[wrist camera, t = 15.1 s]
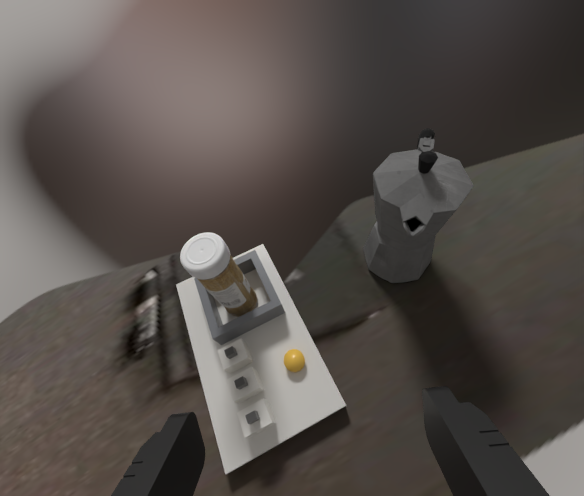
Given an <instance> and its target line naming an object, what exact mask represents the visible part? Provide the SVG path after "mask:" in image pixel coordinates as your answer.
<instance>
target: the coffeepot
mask: <svg viewBox="0 0 584 496" xmlns="http://www.w3.org/2000/svg"><path fill="white" fill-rule="evenodd" d="M434 135H435V133H434V131H433V130H431V129H424V130H423V131H422V132H421V133H420V135H419V139H418V145H417V149H416V150H411V151H404V152H398V153H392V154H390V155H389V157H388V158H387V159H386V160H385V161H384V162H383V163H382V164H381V165H380V166H379V168H377V169H376V170H375V172H374V173H373V183H374V200H375V214H376V219H377V222H376V223H375V225H374V227H373V229H372V231H371V233H370V235H369V237H368V239H367V241H366V243H365V245H364V247H363V249H364V254H365V259H366V262H367V266H368V269H369V270H370V271H372V272H373V273H375V274H376V275H377V276H379V277H380V278H382V279H384V280H387V281H388V282H390V283H403V282H409V281H413V280H418V279H419V278H420V276H421V275H422V273H423V272H424V271H425V269H426V268H427V266H428V265H429V263H430V262H431V258H432V252H433V247H434V241H435V235H436V234H437V233H438V231H439V230H440V229H441V228H442V227H443V225H444V224H445V223H446V222H447V221H448V219H449V218H450V217H451V216H452V215H453V213H454V212H455V211H456V210H457V208H458V207H459V206H460V205H461V203H462V202H463V200H464V199H465V198H466V196H467V195H468V193H469V192H470V190H471V189H472V188H473V186H474V185H473V184H472V182H471V180H470V178H469V177H468V175H467V173H466V172H465V170H464V168H463V167H462V165H461V163H460V161H459V160H457V159H454V158H451V157H448V156H446V155H443V154H440V153H437V152H435V151H433V147H434Z"/></svg>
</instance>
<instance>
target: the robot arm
mask: <svg viewBox="0 0 584 496" xmlns="http://www.w3.org/2000/svg"><path fill="white" fill-rule="evenodd" d="M422 396H423V409H424V422H425V430H426V435H427V438H428V441H429V444H430V447H431V449H432V451H433V453H434V456H435V458H436V460H437V462H438V464H439V466H440V468H441V470H442V473H443V475H444V477H445V479H446V481H447V483H448V485H449V487H450V489H451V492H452V494H453V496H549V494H548V493H547V492H546V491H545V489H544V488H543V487H542V485H541V484H540V483H539V482H538V480H537V479H536V478H535V477H534V475H533V474H532V472H531V471H530V470H529V469H528V467H527V466H526V465H525V464H524V462H523V461H522V460H521V458H520V457H519V456H518V455H517V453H516V452H515V451H514V449H513V448H512V447H510V446H509V443H508V442H507V440H506V439H505V438H504V437H503V435H502V434H501V433H499V431H498V429H497V428H496V426H495V425H494V424H493V422H492V421H491V420H490V419H489V417H488V416H487V415H486V414H485V413H484V412H482V411H481V410H480V409H478V408H477V407H476V406H474V405H473V404H471V403H470V402H464V403H459V402H458V401H457V399H456V398H455V396H454V395H453V393H452V392H451V391H450V389H449V388H448V387H447V386H443V387H433V388H424V389H423V391H422ZM204 460H205V447H204V443H203V439H202V436H201V432H200V428H199V425H198V421H197V418H196V415H195V413H193V412H189V413H180V414H172V415H171V416H170V417H169V418H168V420H167V421H166V423H165V425H164V427H163V428H162V430H161V432H157V433H155V434H154V435H153V436H152V437H151V438H150V439H149V440H148V441H147V442H146V443H145V444H144V445H143V446H142V447H141V448H140V450H139V452H138V453H137V455H136V456H135V458H134V460H133V461H132V465H131V466H129V468H128V469H127V471H126V473H125V474H124V477H123V479H121V481H120V482H119V484H118V485H117V487H116V489H115V490H114V492H113V493H112V495H111V496H193V494H194V491H195V488H196V486H197V483H198V480H199V477H200V474H201V472H202V469H203V465H204Z"/></svg>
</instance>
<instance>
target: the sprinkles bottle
mask: <svg viewBox="0 0 584 496" xmlns="http://www.w3.org/2000/svg"><path fill="white" fill-rule="evenodd" d="M180 260H181V263H182V265H183V267H184V268H185V269H186V270H187V271H188V272H189V274H190V275H192V276H193V277H195V278H197V279H198V280H199V281H200V283H202V285H203V286H204V287H205V288H206V290H207V291H208V292H209V293H210V294H211V295H212V296H213V297H214V298H215V299H216V300H217V301H218V302H219V303H220V304H221V305H223V306H224V307H225V308H226V310H227V312H228V313H229V314H231V315H233V316H237V317H239V316H242V315H244V314H246V313H248V312H250V311H252V310H253V309H254V307H255V306H256V302H257V295H256V292H255V291H254V289H253V288H251V286H250V284H249V282H248V281H247V279H246V278H245V276H244V274H243V273H242V271H241V270H240V268H239V267H238V266H237V264H236V263H235V261H234V260H233V258H232V257H231V255H230V251H229V248H228V247H227V245H226V244H225V242H224V241H223V239H222V238H221V237H220V236H218V235H217V234H214V233H202V234H199V235H196V236H194V237H192V238H191V239H190V240H189V241H187V242H186V244H185V245H184V247H183V249H182V251H181V254H180Z"/></svg>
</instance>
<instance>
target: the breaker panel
mask: <svg viewBox="0 0 584 496" xmlns="http://www.w3.org/2000/svg"><path fill="white" fill-rule="evenodd" d="M233 260H234V261H235V263H236V264H237V266H238V267H239V268H240V270H241V271H242V273H243V274H244V276H245V278H246V279H247V281H248V282H249V284H250V286H251V288H253V289H254V291H255V292H256V295H257V302H256V306H255V307H254V309H253V310H252V311H250V312H248V313H246V314H244V315H242V316H239V317H237V316H233V315H231V314H229V313H228V312H227V310H226V308H225V307H224V306H223V305H221V304H220V303H219V302H218V301H217V300H216V299H215V298H214V297H213V296H212V295H211V294H210V293H209V292H208V291H207V290H206V288H205V287H204V286H203V285H202V283H200V281H199V280H198V279H197V278H195V277H192V278H189V279H187V280H185V281H183V282H181V283H179V284H177V285H176V286H177V290H178V294H179V298H180V301H181V305H182V309H183V313H184V317H185V321H186V324H187V328H188V332H189V336H190V340H191V344H192V348H193V351H194V355H195V359H196V363H197V367H198V371H199V374H200V378H201V382H202V386H203V390H204V394H205V398H206V401H207V405H208V409H209V413H210V417H211V421H212V424H213V428H214V432H215V436H216V440H217V444H218V447H219V451H220V455H221V459H222V463H223V467H224V471H225V474H228V473H230V472H232V471H234V470H236V469H237V468H239V467H241V466H243V465H244V464H246V463H248V462H250V461H251V460H253V459H255V458H256V457H258V456H260V455H262V454H263V453H265V452H267V451H269V450H270V449H272V448H274V447H276V446H277V445H279V444H281V443H283V442H284V441H286V440H288V439H290V438H291V437H293V436H295V435H297V434H298V433H300V432H302V431H304V430H305V429H307V428H309V427H311V426H312V425H314V424H316V423H317V422H319V421H321V420H323V419H324V418H326V417H328V416H330V415H331V414H333V413H335V412H337V411H338V410H340V409H342V408H344V407H345V406H346V404H345V402H344V400H343V398H342V396H341V395H340V393H339V391H338V389H337V387H336V385H335V383H334V381H333V379H332V377H331V375H330V373H329V371H328V369H327V367H326V365H325V363H324V361H323V360H322V358H321V356H320V354H319V352H318V350H317V348H316V346H315V344H314V342H313V340H312V338H311V336H310V334H309V332H308V330H307V328H306V326H305V325H304V323H303V321H302V319H301V317H300V315H299V313H298V311H297V309H296V307H295V305H294V303H293V301H292V299H291V297H290V295H289V293H288V291H287V290H286V288H285V286H284V284H283V282H282V280H281V278H280V276H279V274H278V272H277V270H276V268H275V266H274V264H273V262H272V260H271V258H270V256H269V255H268V253H267V251H266V249H265V247H264V245H263V244H262V245H260V246H258V247H255V248H253V249H251V250H249V251H247V252H245V253H243V254H241V255H238V256H236V257H234V258H233Z"/></svg>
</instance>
